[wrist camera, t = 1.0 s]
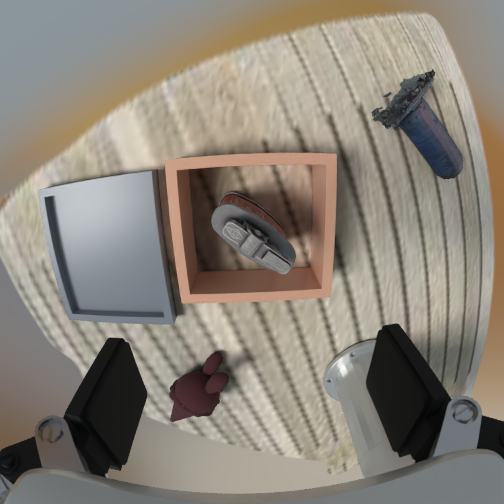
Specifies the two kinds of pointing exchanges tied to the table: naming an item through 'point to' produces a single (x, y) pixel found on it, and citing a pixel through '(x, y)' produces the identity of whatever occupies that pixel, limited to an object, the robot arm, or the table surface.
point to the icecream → (198, 390)
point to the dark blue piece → (422, 126)
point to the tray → (110, 249)
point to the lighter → (253, 232)
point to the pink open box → (265, 280)
